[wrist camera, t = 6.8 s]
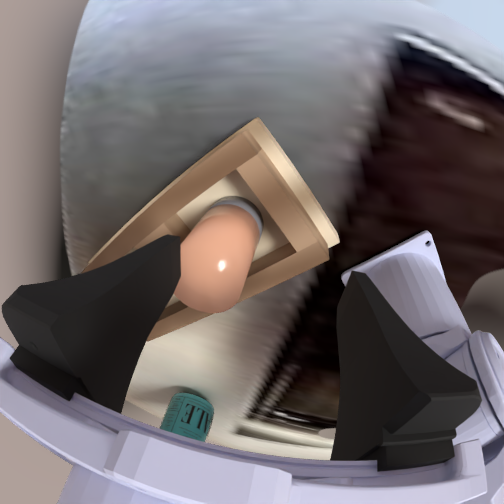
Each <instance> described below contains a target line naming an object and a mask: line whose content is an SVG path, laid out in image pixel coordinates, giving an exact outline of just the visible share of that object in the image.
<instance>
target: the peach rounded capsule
mask: <svg viewBox="0 0 504 504" xmlns="http://www.w3.org/2000/svg"><path fill="white" fill-rule="evenodd" d="M263 228H264V222H263V217H262V214H261V212H260V211H259V209H258V208H257V207H256V206H255V205H254V204H253V203H252V202H251V201H249V200H248V199H245V198H243V197H240V196H226V197H223V198H220V199H218V200H217V201H216V202H215V203H214V204H213V205H212V206H211V207H210V208H209V209H208V211H207V212H206V213H205V215H204V216H203V217H202V218H201V220H200V221H199V222H198V223H197V225H196V226H195V227H194V228H193V230H192V231H191V232H190V233H189V235H188V236H187V237H186V238H185V240H184V241H183V242H182V243H181V277H180V280H179V282H178V284H177V287H176V289H175V291H174V295H175V296H176V297H177V298H178V299H179V300H180V301H181V302H183V303H184V304H185V305H187V306H189V307H190V308H193V309H195V310H198V311H201V312H206V313H219V312H224V311H226V310H229V309H230V308H232V307H233V306H234V305H235V304H236V303H237V302H238V300H239V298H240V295H241V292H242V289H243V286H244V283H245V280H246V278H247V275H248V272H249V269H250V266H251V263H252V260H253V257H254V254H255V252H256V249H257V246H258V244H259V241H260V238H261V235H262V232H263Z"/></svg>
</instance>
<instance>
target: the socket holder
mask: <svg viewBox="0 0 504 504" xmlns="http://www.w3.org/2000/svg"><path fill="white" fill-rule="evenodd" d="M226 196H240V197H243V198H245V199H248V200H249V201H251V202H252V203H253V204H254V205H255V206H256V207H257V208H258V209H259V211H260V212H261V214H262V217H263V222H264V228H263V232H262V235H261V238H260V241H259V244H258V246H257V249H256V252H255V254H254V257H253V260H252V263H251V266H250V269H249V272H248V275H247V278H246V280H245V283H244V286H243V289H242V292H241V295H240V298H239V300H238V302H237V303H239V302H241V301H243V300H245V299H247V298H250V297H252V296H254V295H256V294H258V293H260V292H263V291H265V290H267V289H269V288H271V287H273V286H275V285H278V284H280V283H282V282H284V281H286V280H288V279H290V278H292V277H294V276H296V275H299V274H301V273H303V272H305V271H307V270H309V269H311V268H313V267H315V266H317V265H319V264H321V263H323V262H325V261H327V260H329V253H328V248H330V247H332V246H334V245H335V244H337V243H339V237H338V234H337V232H336V230H335V229H334V227H333V225H332V224H331V222H330V220H329V219H328V217H327V216H326V214H325V212H324V211H323V209H322V208H321V206H320V205H319V203H318V201H317V200H316V198H315V197H314V195H313V194H312V192H311V191H310V189H309V188H308V186H307V185H306V183H305V182H304V180H303V179H302V177H301V176H300V174H299V173H298V171H297V170H296V168H295V167H294V165H293V164H292V163H291V161H290V160H289V158H288V157H287V155H286V154H285V153H284V151H283V150H282V148H281V147H280V146H279V144H278V143H277V141H276V140H275V139H274V137H273V136H272V134H271V133H270V132H269V130H268V129H267V128H266V126H265V125H264V124H263V122H262V121H261V120H260V118H259V117H258V118H255V119H254V120H252V121H251V122H249V123H248V124H247V125H245V126H244V127H242V128H241V129H240V130H238V131H237V132H235V133H234V134H233V135H231V136H230V137H229V138H227V139H226V140H225V141H223V142H222V143H221V144H219V145H218V146H217V147H215V148H214V149H213V150H211V151H210V152H209V153H208V154H206V155H205V156H204V157H202V158H201V159H200V160H199V161H197V162H196V163H195V164H194V165H192V166H191V167H190V168H189V169H188V170H186V171H185V172H184V173H183V174H181V175H180V176H179V177H178V178H177V179H175V180H174V181H173V182H172V183H171V184H170V185H168V186H167V187H166V188H165V189H164V190H163V191H161V192H160V193H159V194H158V195H157V196H156V197H155V198H154V199H152V200H151V201H150V202H149V203H148V204H147V205H146V206H145V207H144V208H142V209H141V210H140V211H139V212H138V213H137V214H136V215H135V216H134V217H133V218H132V219H131V220H130V221H129V222H127V223H126V224H125V225H124V226H123V227H122V228H121V229H120V230H119V231H118V232H117V233H116V234H115V235H114V236H113V237H112V238H111V239H110V240H109V241H108V242H107V243H106V244H105V245H104V246H103V247H102V248H101V249H100V250H99V251H98V252H97V253H96V254H95V255H94V256H93V257H92V259H91V260H90V261H89V262H88V264H89V265H88V266H87V267H86V268H85V269H84V270H83V272H82V273H84V272H88V271H91V270H93V269H96V268H98V267H101V266H104V265H106V264H108V263H111V262H113V261H115V260H117V259H119V258H121V257H123V256H125V255H127V254H129V253H131V252H133V251H135V250H137V249H139V248H141V247H143V246H145V245H147V244H148V243H150V242H152V241H154V240H156V239H158V238H160V237H162V236H164V235H167V234H169V235H174V236H179V237H180V243H182V242H183V241H184V240H185V238H186V237H187V236H188V235H189V233H190V232H191V231H192V230H193V228H194V227H195V226H196V225H197V223H198V222H199V221H200V220H201V218H202V217H203V216H204V215H205V213H206V212H207V211H208V209H209V208H210V207H211V206H212V205H213V204H214V203H215V202H216V201H217V200H218V199H220V198H223V197H226ZM212 314H214V313H206V312H201V311H198V310H195V309H193V308H190V307H189V306H187V305H185V304H184V303H183V302H181V301H180V300H179V299H178V298H177V297H176V296H175V295H174V294H173V296H172V297H171V299H170V301H169V302H168V304H167V306H166V307H165V309H164V311H163V312H162V314H161V316H160V317H159V319H158V321H157V322H156V324H155V326H154V327H153V329H152V331H151V333H150V335H149V336H148V338H147V340H146V341H147V342H148V341H150V340H153V339H155V338H158V337H160V336H162V335H165V334H167V333H170V332H172V331H174V330H177V329H179V328H181V327H184V326H186V325H189V324H191V323H193V322H196V321H198V320H200V319H202V318H205V317H207V316H209V315H212Z"/></svg>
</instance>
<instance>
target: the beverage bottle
mask: <svg viewBox="0 0 504 504" xmlns="http://www.w3.org/2000/svg"><path fill="white" fill-rule="evenodd" d="M168 406H169V407H168V408H167V412H166V414H164V415H165V417H164V419H163V422H162V424H161V427H160V429H162V430H165V431H168V432H171V433H174V434H178V435H181V436H184V437H188V438H191V439H195V440H198V441H202V442H205V440H206V436H208V435H207V434H208V432H209V431H210V430H209V429H210V428H211V426H210V423H212V421H211V420H213V419H212V418H214V416H213V414H214V408H213V406H212V405H211V404H210V403H209V402H208V401H206V400H204V399H203V398H201V397H198V396H196V395H192V394H188V393H177V394H175V395H174V396H173V397H172V399H171V402H170V404H169V405H168ZM209 427H210V428H209ZM208 430H209V431H208Z"/></svg>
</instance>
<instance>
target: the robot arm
mask: <svg viewBox="0 0 504 504" xmlns="http://www.w3.org/2000/svg"><path fill="white" fill-rule="evenodd" d="M427 241H429V243H428V244H425V243H426V242H427ZM180 277H181V243H180V237H179V236H174V235H169V234H167V235H164V236H162V237H160V238H158V239H156V240H154V241H152V242H150V243H148V244H147V245H145V246H143V247H141V248H139V249H137V250H135V251H133V252H131V253H129V254H127V255H125V256H123V257H121V258H119V259H117V260H115V261H113V262H111V263H108V264H106V265H104V266H101V267H98V268H96V269H93V270H91V271H88V272H84V273H81V274H78V275H75V276H71V277H68V278H64V279H60V280H55V281H50V282H45V283H38V284H30V285H21V286H20V287H18V289H17V290H16V291H15V292H14V293H13V294H12V295H11V296H10V297H9V298H8V299H7V300H6V301H5V302H4V303H3V305H2V313H3V317H4V319H5V321H6V323H7V325H8V327H9V329H10V330H11V332H12V334H13V335H14V337H15V339H16V340H17V342H18V344H19V346H18V347H17V349H16V350H15V349H14V348H13V347H12V346H11V345H10V344H9V343H8V342H6V341H5V340H4V339H2V338H1V337H0V412H1V413H2V414H3V415H4V416H5V417H7V418H8V419H9V420H10V421H11V422H12V423H14V424H15V425H16V426H17V427H19V428H20V429H21V430H22V431H24V432H25V433H26V434H28V435H29V436H30V437H31V438H33V439H34V440H35V441H37V442H38V443H40V444H41V445H43V446H44V447H45V448H47V449H48V450H50V451H51V452H53V453H54V454H56V455H57V456H59V457H60V458H62V459H63V460H65V461H67V462H68V463H70V464H72V465H73V467H72V470H71V472H70V474H69V476H68V479H67V481H66V483H65V486H64V488H63V490H62V493H61V495H60V498H59V500H58V502H57V504H504V352H503V350H502V349H501V347H500V346H499V344H498V342H497V341H496V339H495V338H494V337H493V336H492V334H490V333H486V332H481V331H476V332H474V333H473V334H471V332H470V330H469V328H468V326H467V323H466V321H465V319H464V317H463V315H462V313H461V311H460V309H459V307H458V305H457V303H456V301H455V299H454V297H453V295H452V293H451V292H450V290H449V288H448V286H447V284H446V281H445V277H444V273H443V270H442V266H441V263H440V260H439V257H438V253H437V250H436V247H435V244H434V241H433V238H432V235H431V234H430V232H428V231H423V232H421V233H419V234H417V235H415V236H413V237H412V238H410V239H408V240H406V241H404V242H402V243H400V244H398V245H396V246H395V247H393V248H391V249H389V250H387V251H385V252H383V253H381V254H379V255H377V256H375V257H373V258H371V259H369V260H367V261H365V262H363V263H361V264H359V265H357V266H355V267H353V268H351V269H349V270H347V271H345V272H343V273H342V275H341V279H342V281H343V283H344V285H345V286H346V287H345V289H344V292H343V294H342V297H341V299H340V301H339V304H338V306H337V327H336V328H337V339H338V350H339V361H340V380H341V381H340V399H339V409H338V419H337V426H336V433H335V439H334V444H333V449H332V454H331V459H330V460H312V459H299V458H289V457H281V456H273V455H266V454H259V453H253V452H248V451H242V450H237V449H232V448H227V447H223V446H218V445H214V444H210V443H206V442H202V441H198V440H195V439H191V438H188V437H184V436H181V435H178V434H174V433H171V432H168V431H165V430H162V429H159V428H156V427H153V426H151V425H148V424H145V423H142V422H140V421H137V420H134V419H132V418H129V417H127V416H125V415H122V414H121V412H122V408H123V404H124V401H125V397H126V394H127V391H128V387H129V384H130V381H131V378H132V375H133V373H134V370H135V367H136V365H137V362H138V359H139V357H140V354H141V352H142V350H143V347H144V345H145V343H146V340H147V338H148V336H149V335H150V333H151V331H152V329H153V327H154V326H155V324H156V322H157V321H158V319H159V317H160V316H161V314H162V312H163V311H164V309H165V307H166V306H167V304H168V302H169V301H170V299H171V297H172V296H173V294H174V291H175V289H176V287H177V284H178V282H179V280H180Z"/></svg>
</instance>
